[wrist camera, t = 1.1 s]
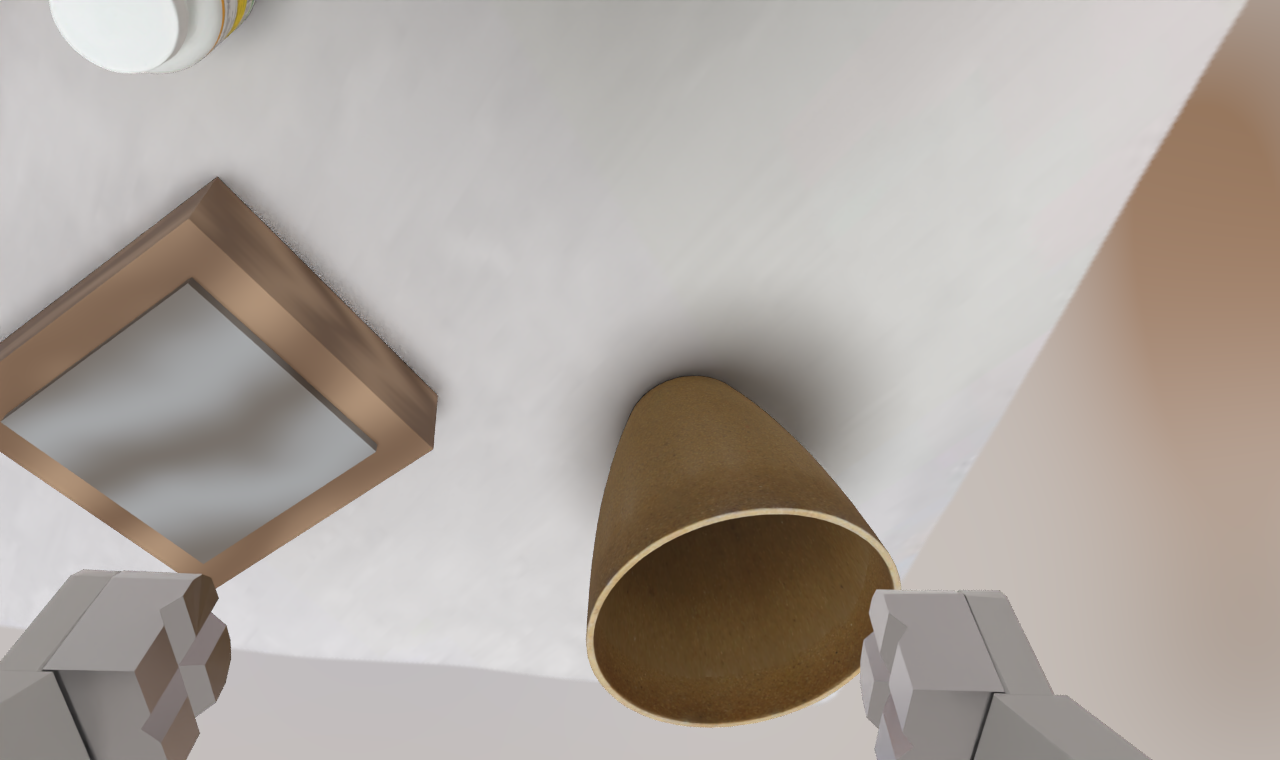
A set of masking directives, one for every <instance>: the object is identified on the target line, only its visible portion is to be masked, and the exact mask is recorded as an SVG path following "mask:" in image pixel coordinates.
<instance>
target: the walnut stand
mask: <svg viewBox="0 0 1280 760" xmlns="http://www.w3.org/2000/svg"><path fill="white" fill-rule="evenodd" d="M437 398H438V395H437V394H436V393H435V392H434V391H433V390H432V389H431V388H429V387H428V386H427V385H426V384H425V383H424V382H423V381H422V380H421V379H420V378H419V377H418V376H417V375H416V374H415V373H414V372H413V371H412V370H411V369H410V368H409V367H408V366H407V365H406V364H405V363H404V362H403V361H402V360H401V359H400V358H399V357H398V356H397V355H396V354H395V353H394V352H393V351H392V350H391V349H390V348H389V347H388V346H387V345H386V344H385V343H384V342H383V341H382V340H381V339H380V338H379V337H378V336H377V335H376V334H375V333H374V332H373V331H372V330H371V329H370V328H369V327H368V326H367V325H366V324H365V323H364V322H363V321H362V320H361V319H360V318H359V317H358V316H357V315H356V314H355V313H354V312H353V311H352V310H351V309H350V308H349V307H348V306H347V305H346V304H345V303H344V302H343V301H342V300H341V299H340V298H339V297H338V296H337V295H336V294H335V293H334V292H333V291H332V290H331V289H330V288H329V287H328V286H327V285H326V284H325V283H324V282H323V281H322V280H321V279H320V278H319V277H318V276H317V275H316V274H315V273H314V272H313V271H312V270H311V269H310V268H309V267H308V266H307V265H306V264H305V263H304V262H303V261H302V260H301V259H299V258H298V257H297V256H296V255H295V254H294V253H293V252H292V251H291V250H290V249H289V248H288V247H287V246H286V245H285V244H284V243H283V242H282V241H281V240H280V239H279V238H278V237H277V236H276V235H275V234H274V233H273V232H272V231H271V230H270V229H269V228H268V227H267V226H266V225H265V224H264V223H263V222H262V221H261V220H260V219H259V218H258V217H257V216H256V215H255V214H254V213H253V212H252V211H251V210H250V209H249V208H248V207H247V206H246V205H245V204H244V203H243V202H242V201H241V200H240V199H239V198H238V197H237V196H236V195H235V194H234V193H233V192H232V191H231V190H230V189H229V188H228V187H227V186H226V185H225V184H224V183H223V182H222V181H221V180H220V179H219V178H218V177H216V178H215V179H214V180H212V181H211V182H210V183H208V184H207V185H206V186H204V187H203V188H202V189H201V190H199V191H198V192H197V193H195V194H194V195H193V196H191V197H190V198H189V199H187V200H186V201H185V202H184V203H182V204H181V205H180V206H178V207H177V208H176V209H174V210H173V211H172V212H171V213H169V214H168V215H167V216H165V217H164V218H163V219H161V220H160V221H159V222H157V223H156V224H155V225H154V226H152V227H151V228H150V229H148V230H147V231H146V232H144V233H143V234H142V235H140V236H139V237H138V238H137V239H135V240H134V241H133V242H131V243H130V244H129V245H127V246H126V247H125V248H123V249H122V250H121V251H120V252H118V253H117V254H116V255H114V256H113V257H112V258H110V259H109V260H108V261H106V262H105V263H104V264H103V265H101V266H100V267H99V268H97V269H96V270H95V271H93V272H92V273H91V274H89V275H88V276H87V277H86V278H84V279H83V280H82V281H80V282H79V283H78V284H76V285H75V286H74V287H73V288H71V289H70V290H69V291H67V292H66V293H65V294H63V295H62V296H61V297H59V298H58V299H57V300H56V301H54V302H53V303H52V304H50V305H49V306H48V307H46V308H45V309H44V310H42V311H41V312H40V313H39V314H37V315H36V316H35V317H33V318H32V319H31V320H29V321H28V322H27V323H25V324H24V325H23V326H22V327H20V328H19V329H18V330H16V331H15V332H14V333H12V334H11V335H10V336H8V337H7V338H6V339H5V340H3V341H2V342H1V343H0V452H1V453H3V454H4V455H6V456H7V457H9V458H10V459H12V460H13V461H15V462H16V463H18V464H19V465H20V466H22V467H23V468H25V469H26V470H28V471H29V472H31V473H32V474H34V475H35V476H37V477H38V478H40V479H41V480H43V481H44V482H45V483H47V484H48V485H50V486H51V487H53V488H54V489H56V490H57V491H59V492H60V493H62V494H63V495H65V496H66V497H67V498H69V499H70V500H72V501H73V502H75V503H76V504H78V505H79V506H81V507H82V508H84V509H85V510H87V511H88V512H89V513H91V514H92V515H94V516H95V517H97V518H98V519H100V520H101V521H103V522H104V523H106V524H107V525H109V526H110V527H111V528H113V529H114V530H116V531H117V532H119V533H120V534H122V535H123V536H125V537H126V538H128V539H129V540H131V541H132V542H133V543H135V544H136V545H138V546H139V547H141V548H142V549H144V550H145V551H147V552H148V553H150V554H151V555H153V556H154V557H155V558H157V559H158V560H160V561H161V562H163V563H164V564H166V565H167V566H169V567H170V568H172V569H173V570H175V571H176V572H177V573H189V574H203V575H206V576H208V577H211V578H212V580H213V583H214V586H215V589H216V588H217V587H219V586H221V585H222V584H224V583H225V582H227V581H228V580H230V579H232V578H233V577H235V576H236V575H238V574H239V573H241V572H242V571H244V570H246V569H247V568H249V567H250V566H252V565H253V564H255V563H256V562H258V561H260V560H261V559H263V558H264V557H266V556H267V555H269V554H270V553H272V552H274V551H275V550H277V549H278V548H280V547H281V546H283V545H285V544H286V543H288V542H289V541H291V540H292V539H294V538H295V537H297V536H299V535H300V534H302V533H303V532H305V531H306V530H308V529H309V528H311V527H313V526H314V525H316V524H317V523H319V522H320V521H322V520H324V519H325V518H327V517H328V516H330V515H331V514H333V513H334V512H336V511H338V510H339V509H341V508H342V507H344V506H345V505H347V504H348V503H350V502H352V501H353V500H355V499H356V498H358V497H359V496H361V495H363V494H364V493H366V492H367V491H369V490H370V489H372V488H373V487H375V486H377V485H378V484H380V483H381V482H383V481H384V480H386V479H387V478H389V477H391V476H392V475H394V474H395V473H397V472H398V471H400V470H401V469H403V468H405V467H406V466H408V465H409V464H411V463H412V462H414V461H416V460H417V459H419V458H420V457H422V456H423V455H425V454H426V453H428V452H430V451H431V450H433V447H434V435H435V422H436V410H437Z"/></svg>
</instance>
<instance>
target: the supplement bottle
mask: <svg viewBox="0 0 1280 760" xmlns="http://www.w3.org/2000/svg"><path fill="white" fill-rule="evenodd" d="M254 3H255V0H49V5H50V10H51V14H52V17H53V20H54V22H55V24H56V26H57V28H58V30H59V32H60V33H61V34H62V36H63V37H64V39H65V40H66V41H67V43H68V44H69V45H70V46H71V47H72V48H73V49H74V50H75V51H76V52H77V53H78V54H80V55H81V56H82V57H84V58H85V59H87V60H88V61H90V62H91V63H93V64H95V65H97V66H99V67H101V68H104V69H106V70H109V71H113V72H117V73H125V74H137V73H143V72H144V73H151V74H167V73H174V72H178V71H182V70H184V69H187V68H189V67H191V66H193V65H195V64H196V63H198V62H199V61H201V60H202V59H203V58H205V57H206V56H207V55H208V54H209V53H210V52H211V51H212V50H213V49H214V48H215V47H217V46H218V45H219V44H220V43H221V42H222V41H223V40H224V39H225V38H226V37H228V36H229V35H230V34H231V33H232V32H233V31H234V30H235V29H237V28H238V27H239V26H240V25H241V24H242V22H243V21H244V20H245V19H246V18H247V16H248V15H249V13H250V12H251V10H252V8H253V5H254Z"/></svg>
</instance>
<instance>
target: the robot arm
mask: <svg viewBox="0 0 1280 760" xmlns="http://www.w3.org/2000/svg"><path fill="white" fill-rule="evenodd" d="M218 599H219V598H218V595H217V592H216V589H215V586H214V583H213V580H212V578H211V577H208V576H206V575H203V574H189V573H167V572H146V571H125V570H124V571H105V570H87V569H83V570H81V571H79V572H77V573H75V574H73V575H71V576H70V577H69V578H68V579H67V580H66V582H65V583H64V584H63V585H62V586H61V588H60V589H59V590H58V591H57V593H56V594H55V595H54V596H53V597H52V599H51V600H50V601H49V602H48V604H47V605H46V606H45V607H44V608H43V610H42V611H41V612H40V613H39V615H38V616H37V617H36V618H35V619H34V621H33V622H32V623H31V624H30V626H29V627H28V628H27V629H26V630H25V632H24V633H23V634H22V635H21V637H20V638H19V639H18V640H17V642H16V643H15V644H14V645H13V646H12V648H11V649H10V650H9V651H8V652H7V654H6V655H5V656H4V658H3V659H2V660H1V661H0V760H186V759H187V757H188V755H189V753H190V751H191V750H192V748H193V746H194V744H195V742H196V739H197V738H198V736H199V734H200V732H199V729H198V726H197V722H196V719H195V717H197V716H198V715H199V714H201V713H202V712H203V711H205V710H206V709H207V708H209V707H210V706H212V705H213V704H215V703H216V701H217V699H218V697H219V695H220V693H221V691H222V689H223V687H224V685H225V683H226V679H227V674H228V670H229V665H230V661H231V643H230V637H229V633H228V629H227V626H226V624H224V623H223V622H222V621H221V620H220V619H219V618H217V617H216V616H215V615H214V614H213V613H211V611H212V609H213V607H214V606H215V604H216V602H217V600H218ZM869 616H870V619H871V623H872V627H873V630H874V631H873V632H872V633H871V634H870V635H869V636H868V637H867V638H865V639H864V641H863V647H862V654H861V660H860V684H861V691H862V699H863V704H864V708H865V712H866V717H867V718H868V719H869V720H870V721H871V722H872V723H873V724H874V725H875V726H876V727H877V728H878V729H879V731H878V735H877V740H876V745H875V753H876V757H877V760H1152V759H1150V758H1149V757H1148V756H1146V755H1145V754H1144V753H1143V752H1141V751H1140V750H1139V749H1137V748H1136V747H1134V746H1133V745H1132V744H1131V743H1129V742H1128V741H1127V740H1125V739H1124V738H1123V737H1121V736H1120V735H1119V734H1117V733H1116V732H1115V731H1113V730H1112V729H1111V728H1109V727H1108V726H1107V725H1106V724H1104V723H1103V722H1101V721H1100V720H1099V719H1098V718H1096V717H1095V716H1094V715H1092V714H1091V713H1090V712H1088V711H1087V710H1086V709H1084V708H1083V707H1082V706H1081V705H1079V704H1078V703H1077V702H1075V701H1074V700H1073V699H1071V698H1070V697H1069V696H1067V695H1054V692H1053V690H1052V688H1051V686H1050V684H1049V682H1048V680H1047V678H1046V676H1045V674H1044V672H1043V670H1042V668H1041V666H1040V664H1039V662H1038V660H1037V658H1036V656H1035V653H1034V651H1033V650H1032V647H1031V646H1030V643H1029V641H1028V639H1027V637H1026V635H1025V633H1024V631H1023V629H1022V627H1021V625H1020V623H1019V621H1018V619H1017V617H1016V615H1015V613H1014V610H1013V609H1012V606H1011V604H1010V602H1009V600H1008V598H1007V596H1006V595H1004V594H1003V593H1002V592H1001V591H1000V590H983V591H982V590H959V591H948V590H943V591H942V590H880V589H876V591H875V593H874V595H873V597H872V601H871V605H870V610H869Z"/></svg>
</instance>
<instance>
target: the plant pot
mask: <svg viewBox="0 0 1280 760" xmlns="http://www.w3.org/2000/svg"><path fill="white" fill-rule="evenodd" d="M876 589H880V590H901V583H900V577H899V574H898V571H897V568H896V565H895V563H894V562H893V560H892V558H891V556H890V554H889V553H888V551H887V550H886V549H885V547H884V546H883V544H882V543H881V542H880V540H879V539H878V537H877V536H876V534H875V533H874V532H873V530H872V529H871V528H870V526H869V525H868V524H867V522H866V521H865V520H864V518H863V517H862V516H861V514H860V513H859V512H858V510H857V509H856V508H855V506H854V505H853V504H852V502H851V501H850V500H849V498H848V497H847V496H846V495H845V494H844V492H843V491H842V490H841V489H840V487H839V486H838V485H837V484H836V483H835V481H834V480H833V479H832V478H831V477H830V476H829V475H828V473H827V472H826V471H825V470H824V469H823V468H822V466H821V465H820V464H819V463H818V462H817V461H816V460H815V459H814V458H813V456H812V455H811V454H810V453H809V452H808V451H807V450H806V449H805V448H804V447H803V446H802V445H801V444H800V443H799V442H798V441H797V440H796V439H795V438H794V437H793V436H792V435H791V434H790V433H789V432H787V431H786V430H785V429H784V428H783V427H782V426H781V425H780V424H779V423H778V422H777V421H775V420H774V419H773V418H772V417H771V416H770V415H769V414H767V413H766V412H765V411H764V410H762V409H761V408H760V407H759V406H757V405H756V404H755V403H753V402H752V401H751V400H749V399H748V398H747V397H745V396H744V395H742V394H741V393H739V392H738V391H736V390H735V389H733V388H732V387H730V386H729V385H727V384H726V383H724V382H722V381H719V380H717V379H714V378H709V377H704V376H685V377H679V378H675V379H672V380H669V381H666V382H664V383H662V384H660V385H658V386H656V387H655V388H653V389H652V390H650V391H649V392H648V393H646V394H645V395H644V396H643V397H642V398H641V399H640V400H639V402H638V403H637V404H636V406H635V407H634V409H633V411H632V413H631V415H630V417H629V419H628V421H627V424H626V426H625V428H624V431H623V433H622V436H621V438H620V441H619V444H618V446H617V449H616V452H615V455H614V458H613V461H612V464H611V468H610V472H609V475H608V479H607V483H606V487H605V491H604V495H603V499H602V504H601V508H600V513H599V519H598V524H597V531H596V537H595V544H594V551H593V559H592V568H591V578H590V588H589V602H588V616H587V633H586V646H587V654H588V659H589V662H590V665H591V668H592V670H593V672H594V674H595V676H596V677H597V679H598V681H599V682H600V683H601V685H602V686H603V687H604V688H605V689H606V690H607V691H608V692H609V693H610V694H611V695H612V696H613V697H614V698H615V699H616V700H617V701H619V702H620V703H621V704H623V705H624V706H626V707H627V708H630V709H631V710H633V711H635V712H637V713H639V714H641V715H644V716H647V717H649V718H652V719H654V720H658V721H661V722H666V723H671V724H675V725H682V726H689V727H709V728H712V727H731V726H738V725H745V724H752V723H758V722H762V721H766V720H769V719H774V718H777V717H781V716H784V715H787V714H790V713H792V712H795V711H798V710H800V709H802V708H805V707H807V706H810V705H812V704H814V703H816V702H818V701H820V700H822V699H824V698H826V697H827V696H829V695H830V694H832V693H833V692H835V691H837V690H838V689H839V688H841V687H842V686H844V685H845V684H847V683H848V682H849V681H850V680H851V679H853V678H854V677H855V676H856V675H857V674H859V673H860V660H861V654H862V647H863V641H864V639H865V638H867V637H868V636H869V635H870V634H871V633H872V632H873V631H874V630H873V627H872V623H871V619H870V616H869V610H870V605H871V601H872V597H873V595H874V593H875V591H876Z"/></svg>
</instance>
